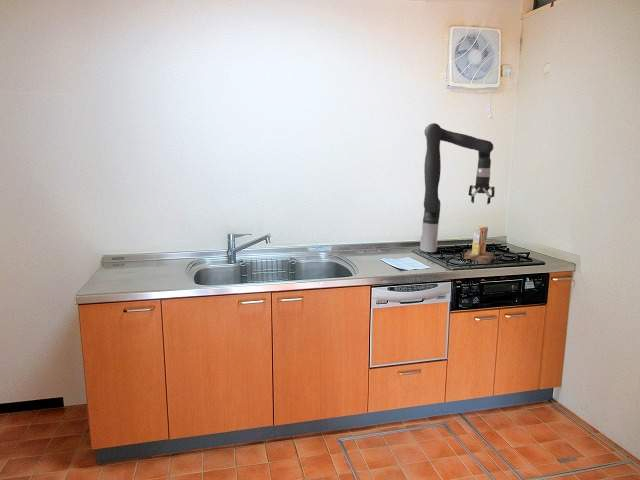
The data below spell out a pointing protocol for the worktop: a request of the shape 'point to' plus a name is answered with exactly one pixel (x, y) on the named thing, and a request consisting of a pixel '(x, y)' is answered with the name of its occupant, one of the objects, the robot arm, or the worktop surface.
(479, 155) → the robot arm
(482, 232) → the candy box
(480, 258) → the walnut base
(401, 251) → the worktop surface
